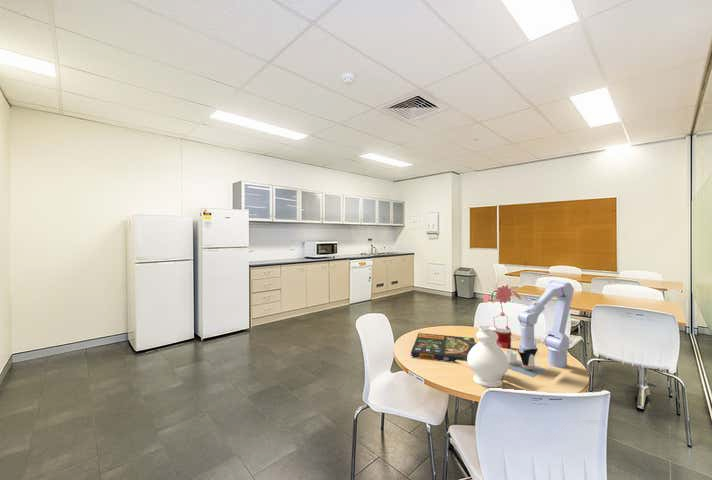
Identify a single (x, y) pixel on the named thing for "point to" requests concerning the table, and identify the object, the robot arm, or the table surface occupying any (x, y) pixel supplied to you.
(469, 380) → the table surface
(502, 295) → the potted flower
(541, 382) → the table surface
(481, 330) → the decorative vase
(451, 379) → the table surface
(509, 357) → the seated sleeve
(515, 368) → the pin board
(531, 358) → the sleeve
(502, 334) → the canned food
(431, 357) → the pizza box
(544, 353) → the table surface
